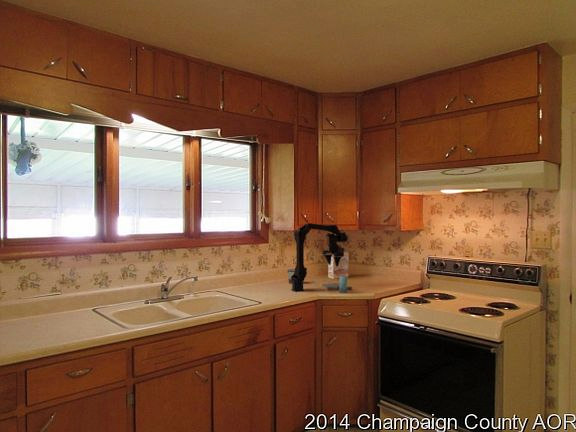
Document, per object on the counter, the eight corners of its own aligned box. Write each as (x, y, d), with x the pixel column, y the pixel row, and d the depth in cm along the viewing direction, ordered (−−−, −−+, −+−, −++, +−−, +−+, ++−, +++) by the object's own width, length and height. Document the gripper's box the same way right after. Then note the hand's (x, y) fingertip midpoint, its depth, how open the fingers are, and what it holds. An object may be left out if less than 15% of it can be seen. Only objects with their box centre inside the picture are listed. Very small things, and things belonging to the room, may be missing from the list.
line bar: (327, 290, 259) (327, 287, 259) (327, 289, 262) (327, 286, 262) (351, 290, 261) (351, 287, 261) (350, 289, 264) (350, 286, 263)
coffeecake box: (333, 279, 304) (333, 253, 304) (328, 277, 310) (327, 252, 310) (349, 277, 311) (348, 252, 311) (343, 276, 318) (343, 251, 317)
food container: (304, 282, 290) (304, 268, 290) (304, 284, 284) (304, 270, 283) (287, 282, 291) (287, 268, 291) (286, 283, 285) (286, 269, 285)
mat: (331, 288, 266) (331, 287, 266) (322, 285, 276) (322, 284, 276) (346, 287, 271) (346, 285, 271) (336, 284, 282) (336, 282, 282)
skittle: (342, 293, 251) (342, 277, 251) (337, 292, 255) (337, 276, 255) (348, 292, 253) (348, 277, 253) (344, 291, 258) (344, 275, 258)
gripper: (350, 243, 267) (351, 266, 268) (335, 241, 284) (335, 263, 284) (336, 244, 262) (337, 267, 263) (321, 242, 279) (322, 264, 279)
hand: (333, 265), depth 272 cm, fingers open, 9 cm apart
